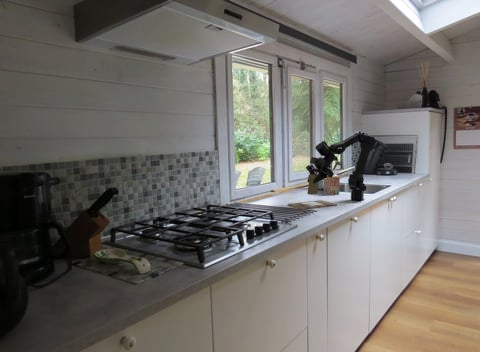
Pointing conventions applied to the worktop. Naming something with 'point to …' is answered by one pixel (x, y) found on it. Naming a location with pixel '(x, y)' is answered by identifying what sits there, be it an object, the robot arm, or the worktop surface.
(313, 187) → the pepper mill
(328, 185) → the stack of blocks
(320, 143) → the robot arm
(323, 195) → the worktop surface
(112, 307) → the worktop surface
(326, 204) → the baseplate
